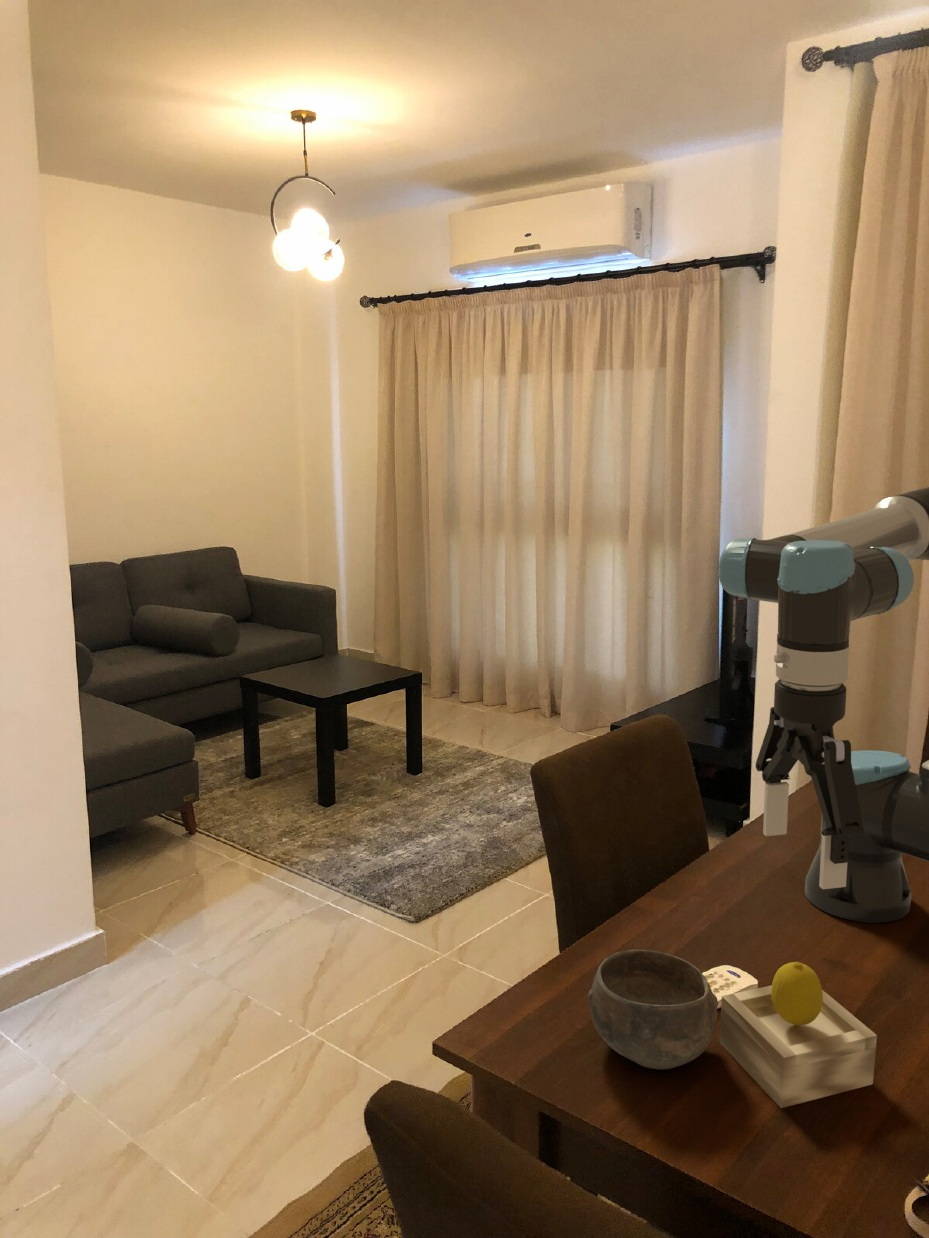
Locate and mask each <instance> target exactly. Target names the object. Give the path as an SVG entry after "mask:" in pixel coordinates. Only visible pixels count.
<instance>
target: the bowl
mask: <svg viewBox="0 0 929 1238" xmlns="http://www.w3.org/2000/svg"><path fill="white" fill-rule="evenodd" d="M593 978H594V979H593V982H592V986H591V989H590V990H589V991H588V995H587V997H588V1001H589V1011H590V1017H591V1021H592V1024H593V1026H594V1029H595V1031H596V1032H597V1034H598V1035H599V1037H600V1038H601V1039H603V1041H604V1042H605V1043H606V1044H607V1045H608V1046H609V1047H610V1048H611V1049H612V1050H614V1051H615V1052H617V1054H619V1055H621V1056H623V1057H624V1058H626V1059H629V1060H631V1061H633V1062H635V1063H636V1064H638V1065H639V1066H641V1067H644V1068H648V1069H652V1070H653V1069H655V1070H671V1069H674V1068H677V1067H678V1068H679V1067H681V1066H683V1065H685V1064H688V1063H691V1062H692V1061H694V1060H695V1059H697V1058H698V1057H699V1056H701V1055H702V1054H703V1053H704V1052H705V1051H706V1049H707V1048H708V1047H709V1045H710V1044H711V1042H712V1040H713V1038H714V1035H715V1030H716V1026H717V1021H718V1006H719V1000H718V997H717V996H716V995H715V994H714V993H713V991H712V990H713V989H712V987H711V986H710V984H709V982H708V979H707V978H706V977H705V975H704V974H703V973H702V972H701V970H700V969H699V968H697V966H696V965H694V964H693V963H691V962H689V961H687V960H685V959H684V958H681V957H678V956H676V955H672V954H669V953H665V952H662V951H661V952H660V951H656V950H651V949H647V950H646V949H627V950H621V951H619V952H618V951H617V952H615V953H613V954H611V955H609V956H608V957H606V958H605V959H604V960H603V961H602V962H601V963H600V965H599V966H598V968H597V971H596V973H595V974H594V977H593Z"/></svg>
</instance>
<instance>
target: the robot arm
mask: <svg viewBox="0 0 929 1238" xmlns="http://www.w3.org/2000/svg"><path fill="white" fill-rule="evenodd" d="M913 560H924V561H929V486H928V487H923V488H918V489H913V490H911V491H907V492H904V493H900V494H897V495H893V496H889V497H886V498H884V499H882V500H881V501H879V502H877V504H876V505H875V506H873V508H872V509H870V510H867V511H864V512H861V513H857V514H854V515H851V516H846V517H844V518H843V517H842V518H839V519H835V520H833V521H830V522H826V523H824V524H820V525H817V526H814V527H809V528H807V529H803V530H799V531H797V532H793V533H789V534H785V535H781V536H777V537H773V538H770V539H769V538H768V539H758V538H756V537H751V538H735V539H733V540H731V541H730V542H729V543H728V544H727V545H726V546H724V548H723V550H722V552H721V554H720V556H719V561H718V565H717V567H718V579H719V582H720V585H721V587H722V588H723V590H724V591H725V592H726V593H727V594H729V595H732V596H735V597H741V598H743V599H744V598H745V599H746V600H749V601H752V600H755V601H760V602H761V601H762V602H769V603H774V604H775V603H777V607H778V608H777V634H776V654H775V655H773V660H774V663H775V676H776V677H777V679H778V680H777V681H776V682H775V683H774V694H773V695H774V698H773V700H774V701H773V706H771V707H770V710H769V719H768V725H767V728H766V731H765V734H764V736H763V737H764V738H763V739H762V740H763V741H762V743H761V745H760V746H761V747H760V749H759V753H758V754H757V755H758V756H757V758H756V762H755V769H756V771H757V772H761V777H762V780H763V782H765V783H764V801H763V824H762V825H763V828H762V829H763V830H762V833H763V835H764V836H765V837H770V836H771V837H772V836H782V835H783V836H784V835H787V834H788V818H789V817H788V815H789V813H788V811H789V793H790V792H789V789H790V788H789V787H790V784H789V783H788V782H787V780H791V777H790V775H789V773H790V772H791V771H792V770H793V768H794V766H795V765H796V764H797V762H798V761H799V762H800V764H801V765H803V768H804V772H805V774H807V775H808V776H810V777H811V780H812V781H811V782H812V784H813V786H814V787H813V788H814V791H815V793H816V797H817V800H818V803H819V807H820V811H821V819H820V835H819V836H820V838H819V847H818V848H817V851H816V853H815V856H814V858H813V860H812V862H811V865H810V867H809V870H808V871H807V873H806V877H805V880H804V881H805V882H804V885H805V886H804V894H805V896H806V898H807V900H808V901H809V902H810V903H811V904H812V905H814V906H815V907H816V908H818V909H820V910H821V911H822V912H825V913H827V914H830V915H832V916H835V917H838V918H842V919H845V920H849V921H854V922H862V923H870V924H871V923H872V924H873V923H874V924H875V923H876V924H877V923H889V922H890V923H891V922H895V921H898V920H900V919H902V918H903V919H904V918H905V917H906V916H907V915H908V914H909V913H910V910H911V904H912V903H911V902H912V892H911V887H910V885H909V881H908V877H907V873H906V870H905V866H904V862H903V859H902V857H903V856H902V855H903V854H904V855H908V856H909V857H910V856H911V857H913V858H918V859H920V860H923V861H926V862H928V863H929V759H928V760H926V761H925V762H923V763H922V764H921V768H920V769H921V770H920V773H915V772H913V771H910V770H911V768H912V767H911V764H910V760H909V759H908V757H906V756H904V755H903V754H902V753H901V754H900V753H898V752H897V753H896V752H892V751H884V750H874V749H873V750H870V749H869V750H853V751H852V744H851V741H850V740H848V739H842V740H838V739H835V735H834V725H835V724H837V723H838V722H839V721H841V720H842V719H843V718H844V717H845V715H846V706H847V705H846V702H847V687H846V686H845V684H844V683H846V681H848V677H849V673H848V672H849V653H850V652H849V651H850V633H851V632H850V630H851V622H852V621H855V620H858V619H861V618H866V617H870V616H873V615H881V614H884V613H886V612H889V611H890V610H891V609H892V610H893V609H894V608H897V607H898V606H900V605H902V604H904V602H905V601H906V600H907V599H908V598H909V597H910V595H911V593H912V591H913V587H914V583H915V577H914V570H913V567H912V565H911V563H910V562H911V561H913Z"/></svg>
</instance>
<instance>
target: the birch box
mask: <svg viewBox="0 0 929 1238" xmlns="http://www.w3.org/2000/svg"><path fill="white" fill-rule="evenodd" d="M771 991H772V984H771V985H768V986H763V987H762V986H761V987H757V988H754V989H753V988H752V989H749V990H743V991H739V992H735V993H730V994H726V995H722V996H721V1005H720V1007H721V1008H720V1010H721V1011H720V1024H719V1025H720V1027H719V1028H720V1030H719V1044H720V1045H721V1046H722V1047H723V1048H724V1049H725V1050H726V1051H727V1053H729V1054H730V1055H731V1056H732V1057H733V1058H734V1060H736V1062H737V1063H738V1064H739V1065H740V1066H741V1067H742V1068H743V1069H744V1070H745V1071H746V1072H747V1073H748V1075H749V1076H750V1077H751V1078H752V1079H753V1080H754V1081H755V1083H756V1084H758V1085H759V1086H760V1088H761V1089H763V1091H764V1092H765V1093H766V1094H767V1095H768V1096H769V1097H770V1098H771V1099H772V1101H774V1102H775V1104H776V1105H777V1106H778V1107H779V1108H780V1109H783V1108H786V1107H791V1106H794V1105H799V1104H803V1103H806V1102H807V1103H808V1102H809V1101H813V1100H817V1099H823V1098H825V1097H826V1098H827V1097H829V1096H833V1095H837V1094H841V1093H844V1092H848V1091H851V1090H856V1089H860V1088H863V1087H867V1086H871V1085H873V1084H874V1075H875V1063H876V1053H877V1052H876V1051H877V1038H878V1035H877V1033H875V1032H874V1031H872V1030H871V1029H870V1028H869V1027H867V1026H866V1024H864V1023H863V1022H862V1021H860V1020H859V1019H858V1018H857V1017H855V1016H854V1015H853V1013H850V1012H849V1011H848V1010H847V1009H846V1008H845V1007H843V1006H842V1005H841V1004H840V1003H839V1002H838V1001H837V1000H835V999H834V998H833V997H832V996H831V995H829V994H828V993H827V992H825V991H824V989H822V993H823V1002H822V1007H821V1011H820V1013H819V1015H818V1016H817V1017H816V1019H815V1020H814V1021H812V1022H811V1023H809V1024H806V1025H799V1026H794V1025H793V1024H790V1023H788V1022H786V1021H785V1020H784V1019H782V1018H781V1017H780V1016H779V1014H778V1013H777V1012H776V1010H775V1008H774V1005H773V1002H772V996H771Z"/></svg>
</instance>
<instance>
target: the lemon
mask: <svg viewBox="0 0 929 1238" xmlns="http://www.w3.org/2000/svg"><path fill="white" fill-rule="evenodd" d="M771 985H772V991H771V996H772V1002H773V1005H774V1008H775V1010H776V1012H777V1013H778V1014H779V1016H780V1017H781V1018H782V1019H784V1020H785V1021H786V1022H788V1023H790V1024H793V1025H794V1026H799V1025H806V1024H809V1023H811V1022H812V1021H814V1020H815V1019H816V1017H817V1016H818V1015H819V1013H820V1011H821V1007H822V1002H823V993H822V990H823V987H822V984H821V980H820V979H819V976H818V974H817V973H816V972H815V971H814V970H813V968H811V967H809V966H808V965H807V964H804V963H801V962H799V961H791V962H788V963H786V964H785V963H784V964H783V965H782V966H781V967H779V968H778V969H777V971H776V972H775V974H774V977H773V979H772V983H771Z"/></svg>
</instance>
